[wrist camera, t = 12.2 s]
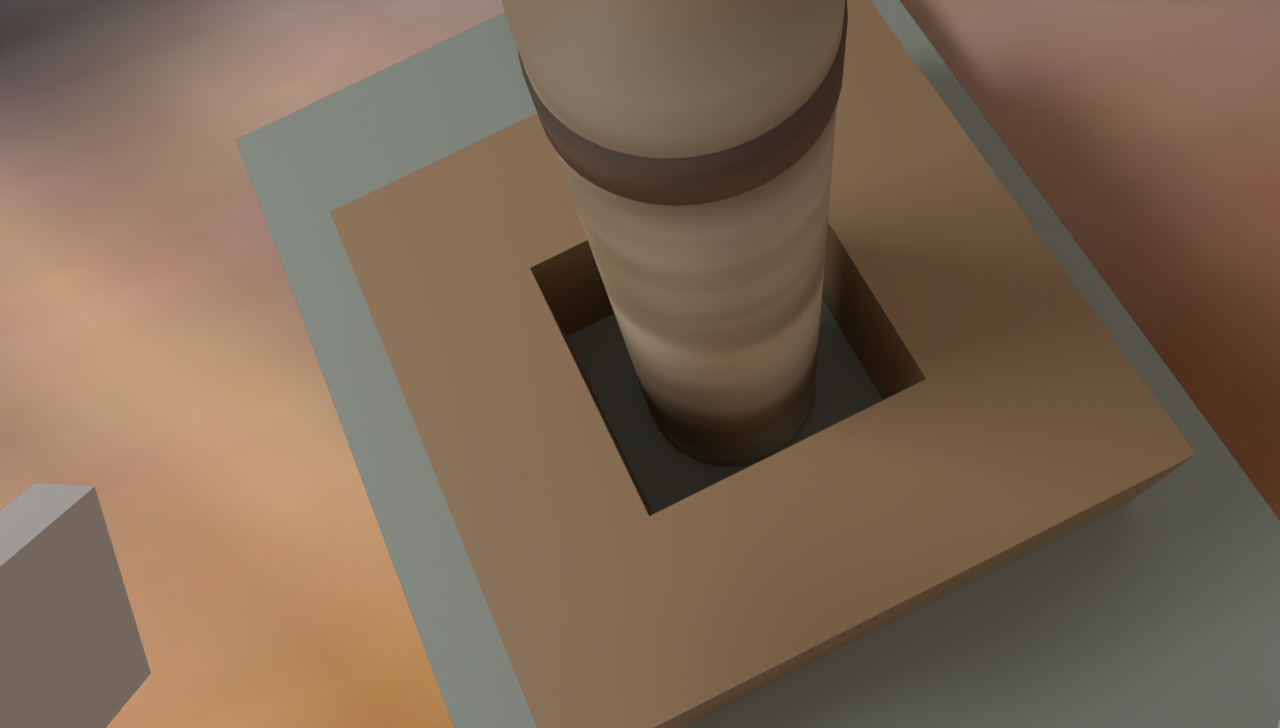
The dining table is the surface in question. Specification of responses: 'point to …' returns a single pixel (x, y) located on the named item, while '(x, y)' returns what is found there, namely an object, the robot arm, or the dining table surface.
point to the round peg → (700, 195)
